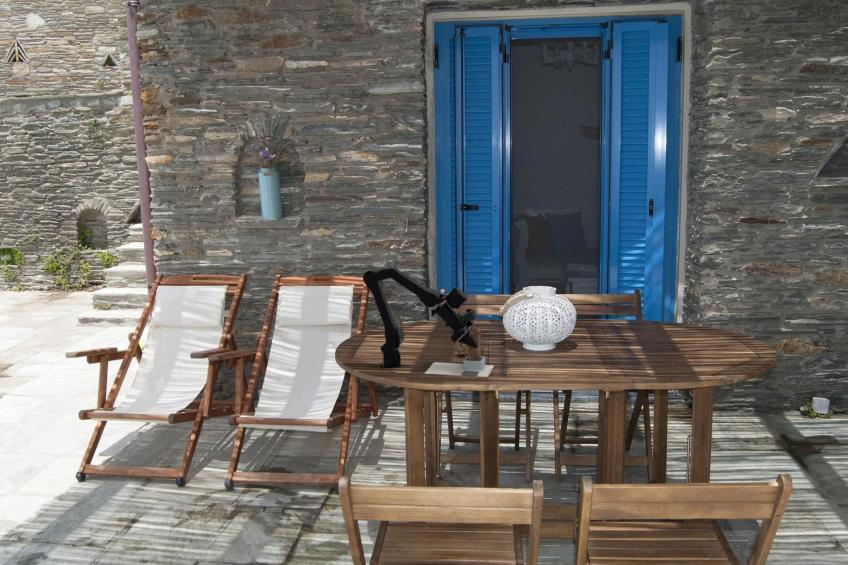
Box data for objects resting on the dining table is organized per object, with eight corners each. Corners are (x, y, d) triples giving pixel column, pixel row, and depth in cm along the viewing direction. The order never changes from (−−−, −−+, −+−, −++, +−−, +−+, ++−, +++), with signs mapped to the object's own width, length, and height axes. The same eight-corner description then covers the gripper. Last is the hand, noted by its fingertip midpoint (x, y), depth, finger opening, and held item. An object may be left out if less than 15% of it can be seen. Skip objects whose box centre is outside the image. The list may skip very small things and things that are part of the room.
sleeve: (463, 369, 299) (463, 360, 299) (467, 364, 306) (466, 355, 306) (482, 370, 298) (482, 361, 297) (485, 365, 304) (485, 356, 304)
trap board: (424, 375, 295) (424, 373, 295) (434, 364, 310) (434, 362, 310) (487, 379, 289) (487, 376, 289) (494, 367, 305) (494, 365, 305)
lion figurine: (464, 361, 315) (464, 339, 314) (452, 360, 318) (452, 338, 316) (479, 353, 328) (479, 332, 326) (467, 351, 330) (467, 330, 329)
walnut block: (468, 363, 300) (468, 330, 298) (470, 360, 304) (470, 328, 302) (478, 364, 299) (478, 330, 297) (480, 361, 303) (480, 328, 301)
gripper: (459, 307, 290) (488, 338, 289) (468, 298, 308) (496, 327, 307) (438, 327, 293) (467, 357, 292) (449, 317, 311) (476, 345, 310)
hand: (477, 346), depth 300 cm, fingers closed on walnut block, 4 cm apart
